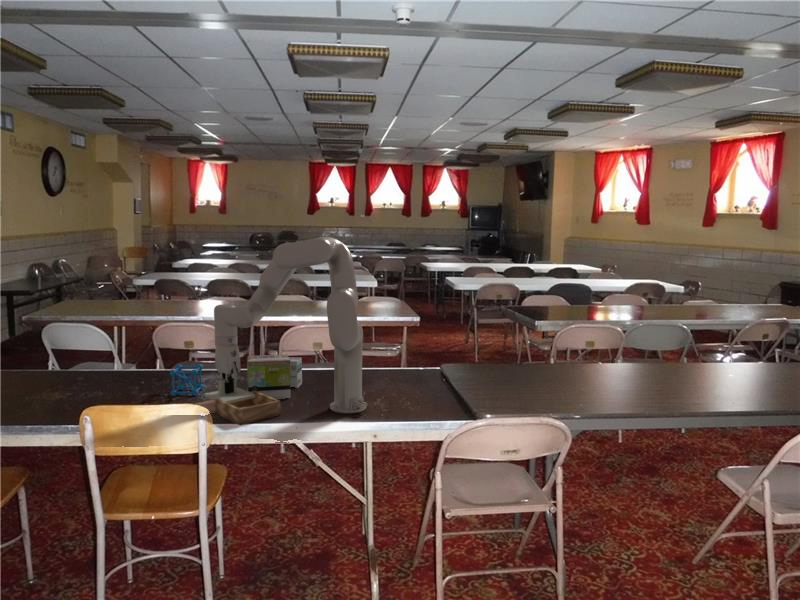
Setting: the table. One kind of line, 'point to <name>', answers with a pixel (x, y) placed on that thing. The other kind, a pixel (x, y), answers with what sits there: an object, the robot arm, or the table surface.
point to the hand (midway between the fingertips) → (227, 391)
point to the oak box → (249, 409)
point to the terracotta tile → (209, 405)
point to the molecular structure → (186, 380)
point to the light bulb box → (295, 372)
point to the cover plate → (230, 397)
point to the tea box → (269, 375)
